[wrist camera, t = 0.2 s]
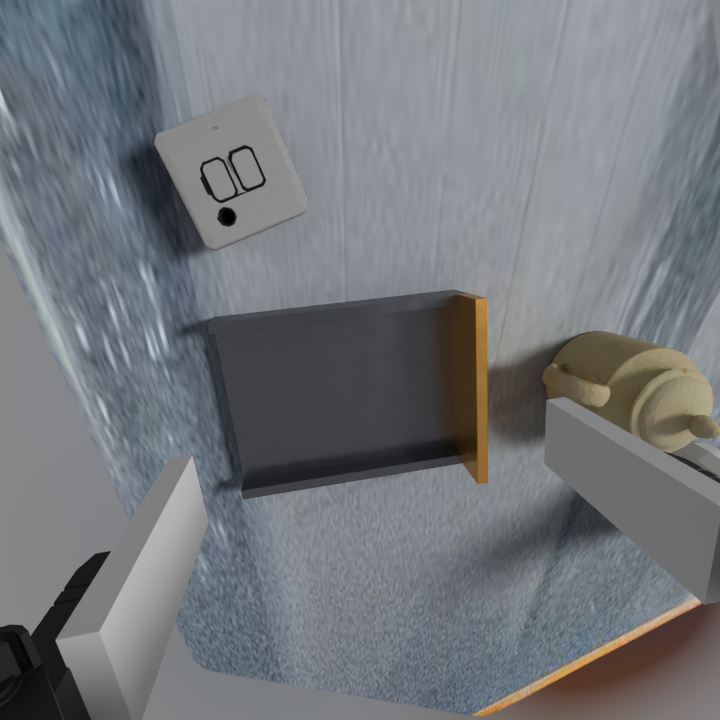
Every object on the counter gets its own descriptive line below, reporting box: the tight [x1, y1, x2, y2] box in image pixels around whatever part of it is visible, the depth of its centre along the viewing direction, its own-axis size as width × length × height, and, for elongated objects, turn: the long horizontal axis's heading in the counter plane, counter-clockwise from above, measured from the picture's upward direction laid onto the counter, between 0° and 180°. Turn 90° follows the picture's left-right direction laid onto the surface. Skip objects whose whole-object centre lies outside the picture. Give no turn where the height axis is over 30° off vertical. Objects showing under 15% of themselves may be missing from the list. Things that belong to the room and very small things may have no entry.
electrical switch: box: [154, 94, 308, 250], centre depth 33 cm, size 9×5×9 cm
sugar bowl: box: [543, 331, 720, 453], centre depth 39 cm, size 15×11×15 cm
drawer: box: [207, 290, 488, 499], centre depth 38 cm, size 18×24×8 cm
